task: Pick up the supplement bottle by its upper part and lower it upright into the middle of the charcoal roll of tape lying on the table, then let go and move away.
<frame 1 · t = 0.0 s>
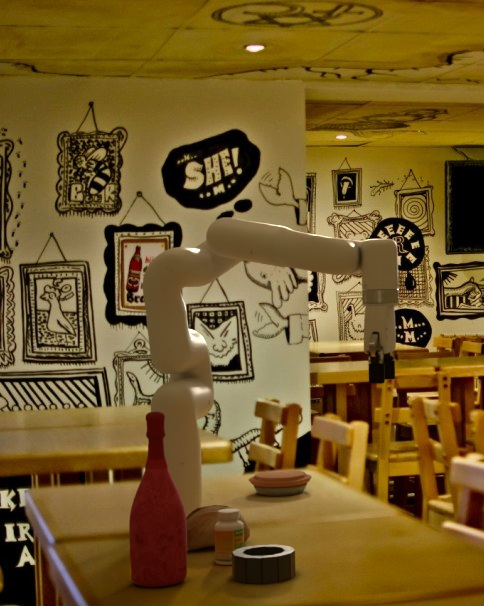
hand: (382, 381, 257), 31 cm above the table, tool pointing down, fingers open, 9 cm apart
wine bottle: (159, 583, 218), on the table
bread roll: (214, 547, 246), on the table
tape roll: (264, 576, 220), on the table
pie: (280, 492, 308), on the table
supplement bottle: (229, 563, 232), on the table
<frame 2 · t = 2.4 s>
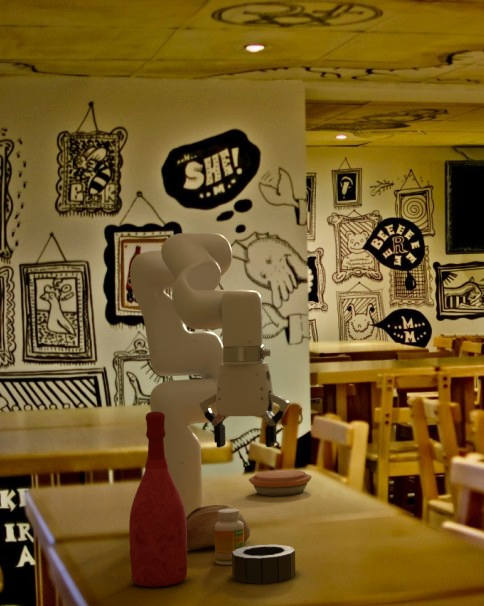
hand: (245, 446, 234), 21 cm above the table, tool pointing down, fingers open, 9 cm apart
nothing on the table moved.
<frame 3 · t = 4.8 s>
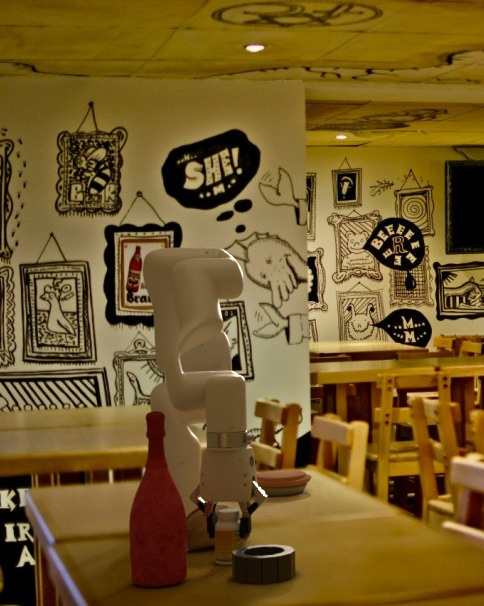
hand: (229, 536, 232), 5 cm above the table, tool pointing down, fingers closed on supplement bottle, 5 cm apart
supplement bottle: (229, 563, 232), on the table, touching gripper
everything else where it was.
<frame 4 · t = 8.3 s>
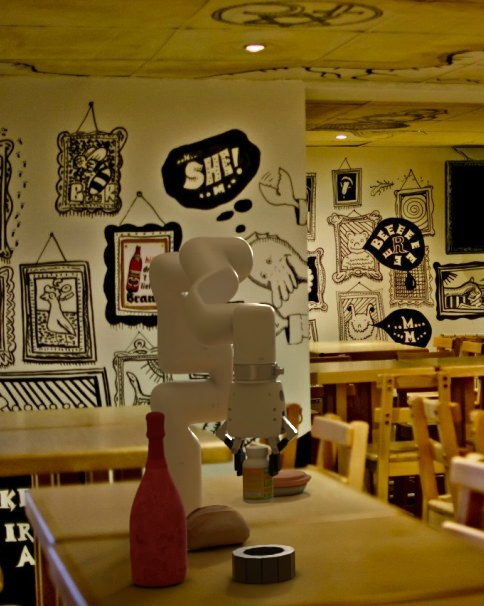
hand: (257, 474, 221), 18 cm above the table, tool pointing down, fingers closed on supplement bottle, 5 cm apart
supplement bottle: (258, 502, 221), point 13 cm above the table, touching gripper
everything else where it was.
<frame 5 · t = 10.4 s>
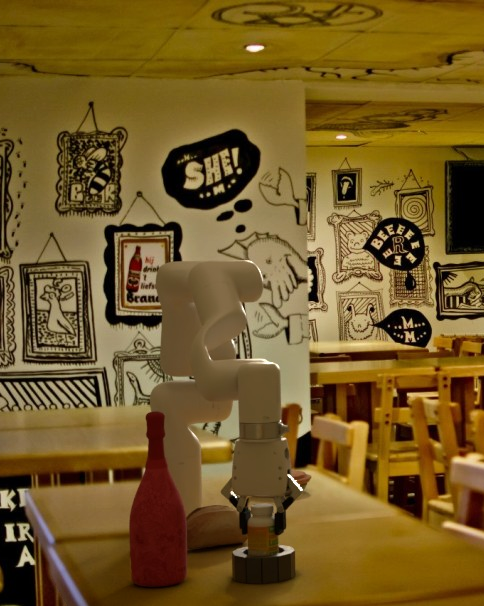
hand: (262, 532, 220), 8 cm above the table, tool pointing down, fingers closed on supplement bottle, 5 cm apart
supplement bottle: (263, 561, 220), point 3 cm above the table, touching gripper
everything else where it was.
when the fingers open (5 cm above the table, at t = 11.7 s): supplement bottle stays where it is, resting in tape roll.
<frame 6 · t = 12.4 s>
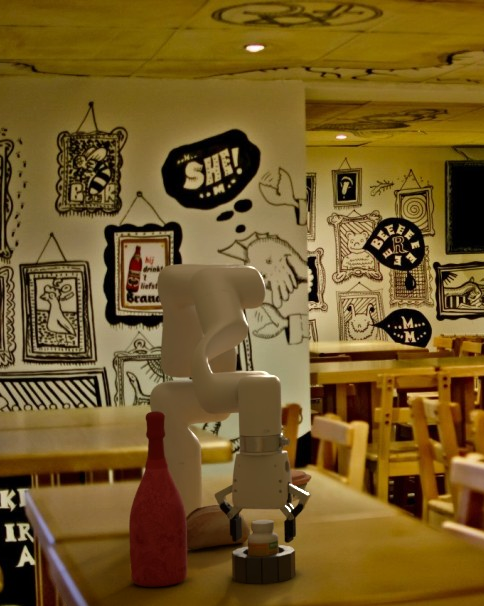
hand: (263, 540, 220), 6 cm above the table, tool pointing down, fingers open, 9 cm apart
supplement bottle: (263, 577, 220), resting in tape roll
everything else where it was.
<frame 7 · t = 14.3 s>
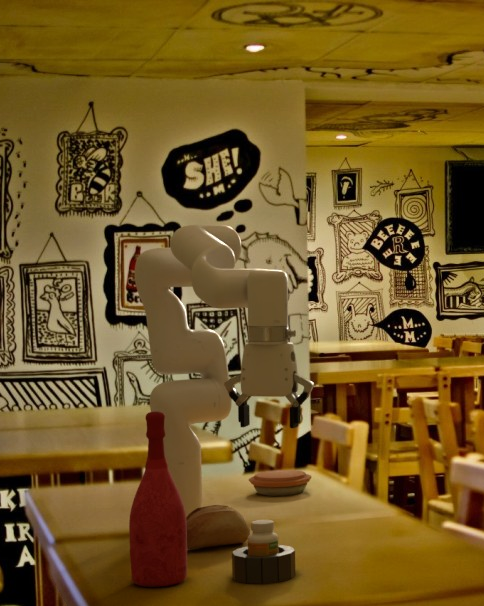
hand: (269, 426, 233), 25 cm above the table, tool pointing down, fingers open, 9 cm apart
nothing on the table moved.
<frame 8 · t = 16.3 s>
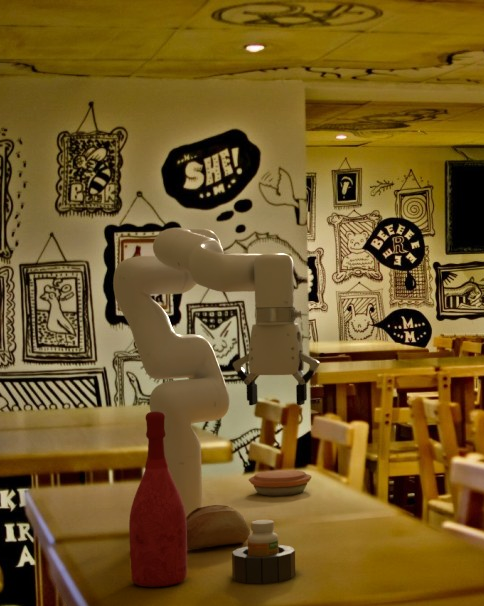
hand: (276, 404, 242), 28 cm above the table, tool pointing down, fingers open, 9 cm apart
nothing on the table moved.
at the end: supplement bottle 0.1 cm off-centre on the tape roll, point 0.0 cm above the tape roll's base; supplement bottle tilted 0°; the gripper is holding nothing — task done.
